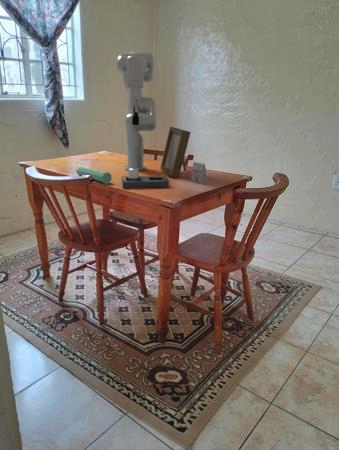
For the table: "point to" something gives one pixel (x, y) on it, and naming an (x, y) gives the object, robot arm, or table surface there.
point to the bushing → (133, 174)
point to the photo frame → (175, 152)
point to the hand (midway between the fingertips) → (135, 124)
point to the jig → (146, 182)
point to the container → (95, 174)
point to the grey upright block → (198, 173)
